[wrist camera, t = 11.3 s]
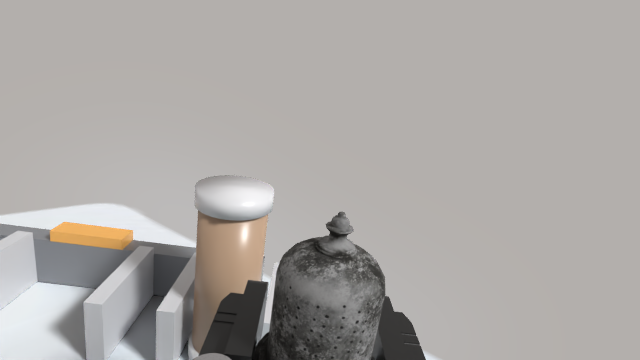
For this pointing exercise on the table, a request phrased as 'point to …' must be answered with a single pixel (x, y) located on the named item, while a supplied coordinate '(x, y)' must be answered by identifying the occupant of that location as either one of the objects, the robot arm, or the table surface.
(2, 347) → the table surface
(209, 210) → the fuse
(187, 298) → the fuse rail
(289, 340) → the salt shaker
